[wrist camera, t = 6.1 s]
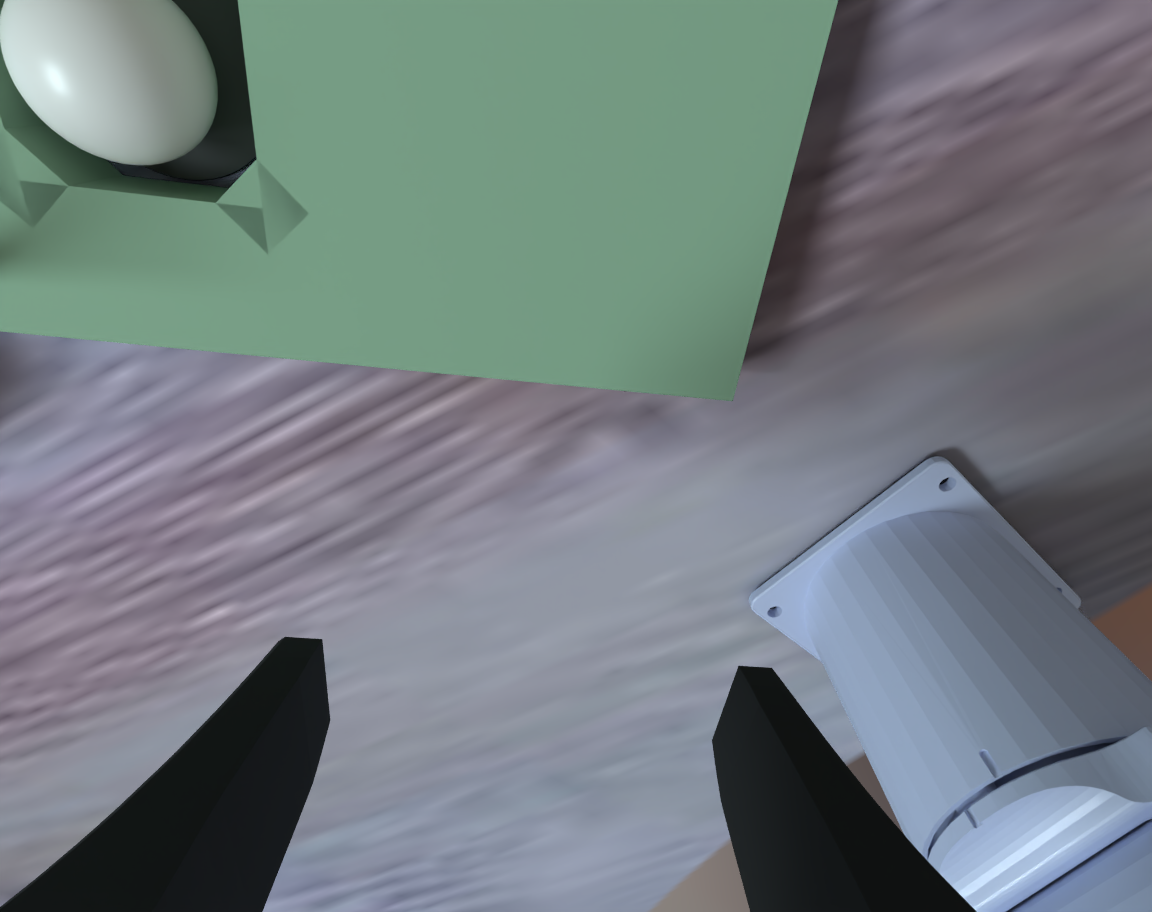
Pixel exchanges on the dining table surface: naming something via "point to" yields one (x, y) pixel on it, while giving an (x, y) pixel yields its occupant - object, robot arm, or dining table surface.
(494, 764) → the dining table surface
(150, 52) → the golf ball
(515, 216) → the putting mat
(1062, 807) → the robot arm
